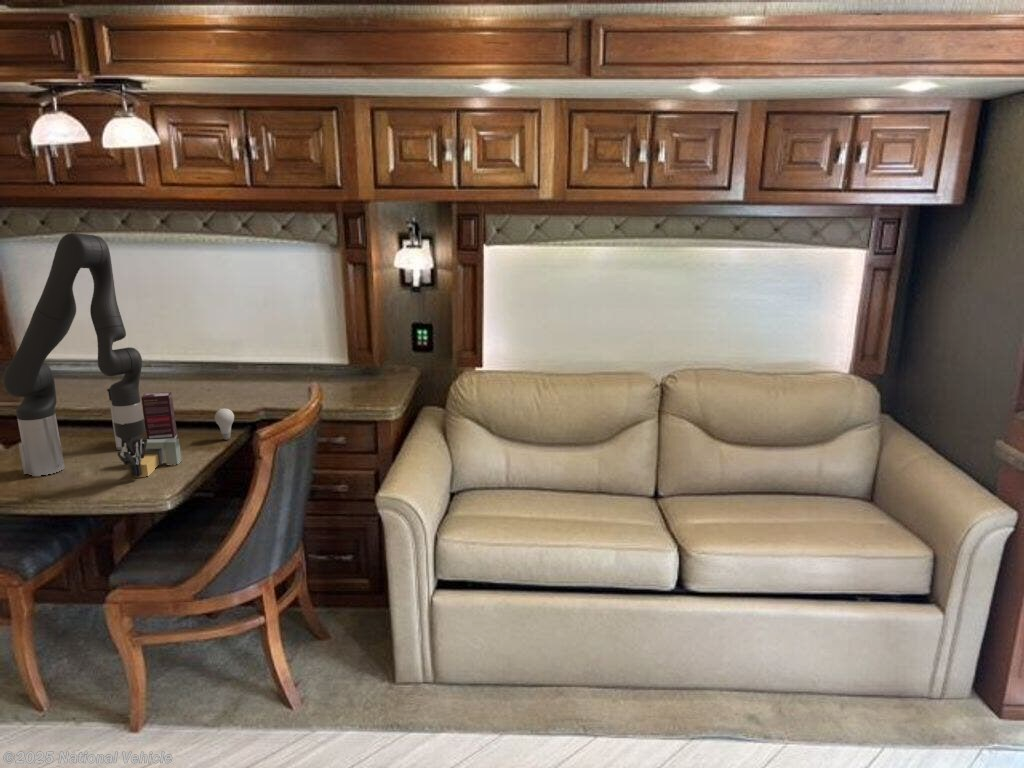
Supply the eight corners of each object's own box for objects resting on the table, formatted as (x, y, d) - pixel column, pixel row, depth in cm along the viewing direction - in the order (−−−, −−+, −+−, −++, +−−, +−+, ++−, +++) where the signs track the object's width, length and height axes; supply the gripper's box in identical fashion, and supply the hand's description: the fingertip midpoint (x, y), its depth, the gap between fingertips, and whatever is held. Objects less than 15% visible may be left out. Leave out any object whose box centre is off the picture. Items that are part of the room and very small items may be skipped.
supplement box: (177, 435, 234) (172, 391, 230) (174, 440, 230) (169, 395, 226) (150, 437, 232) (144, 393, 228) (146, 442, 227) (140, 396, 223)
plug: (133, 477, 198) (130, 462, 197) (150, 460, 211) (149, 446, 210) (149, 476, 198) (147, 461, 197) (166, 459, 212) (164, 445, 211)
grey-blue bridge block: (130, 466, 206) (126, 443, 204) (134, 462, 209) (131, 439, 207) (177, 465, 207) (174, 442, 205) (181, 461, 210) (178, 438, 208)
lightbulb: (233, 442, 228) (230, 411, 225) (214, 442, 227) (211, 411, 224) (238, 436, 234) (235, 406, 231) (220, 437, 233) (217, 406, 230)
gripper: (126, 412, 198) (134, 468, 202) (102, 425, 185) (111, 485, 189) (152, 411, 198) (160, 467, 202) (130, 425, 185) (139, 484, 189)
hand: (136, 475), depth 196 cm, fingers closed
